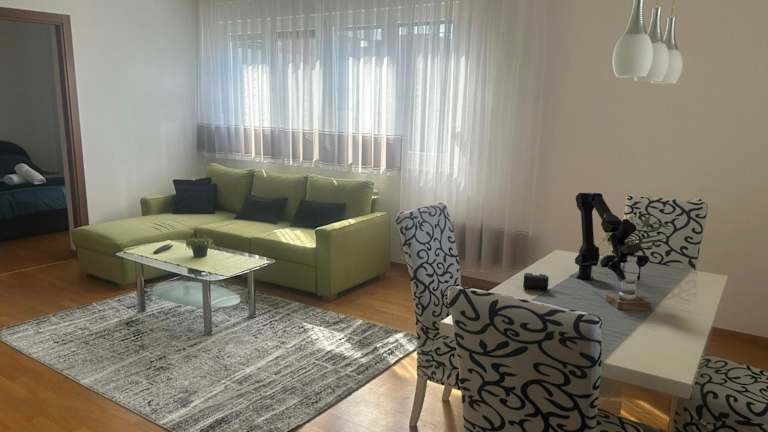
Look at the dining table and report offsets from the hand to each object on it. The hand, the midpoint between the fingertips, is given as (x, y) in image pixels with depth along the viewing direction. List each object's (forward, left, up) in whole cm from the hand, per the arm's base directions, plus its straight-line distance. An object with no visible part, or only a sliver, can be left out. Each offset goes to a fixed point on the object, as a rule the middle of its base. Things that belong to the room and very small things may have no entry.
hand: (631, 279), depth 228 cm
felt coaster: (-9, -7, -11) cm, 16 cm away
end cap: (+1, -37, -11) cm, 38 cm away
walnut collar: (0, 0, -11) cm, 11 cm away
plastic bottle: (-1, -1, -11) cm, 11 cm away
